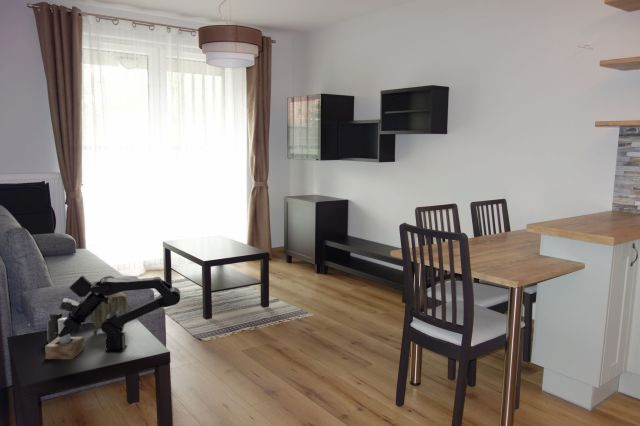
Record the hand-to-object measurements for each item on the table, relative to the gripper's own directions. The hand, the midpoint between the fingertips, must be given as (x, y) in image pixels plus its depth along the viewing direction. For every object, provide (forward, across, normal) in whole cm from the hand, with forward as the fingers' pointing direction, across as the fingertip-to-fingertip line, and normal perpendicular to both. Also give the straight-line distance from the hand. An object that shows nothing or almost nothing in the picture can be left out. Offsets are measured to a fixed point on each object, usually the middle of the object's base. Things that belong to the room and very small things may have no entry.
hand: (60, 334), depth 199 cm
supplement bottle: (+9, -15, +2) cm, 18 cm away
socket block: (+5, 0, +7) cm, 8 cm away
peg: (+4, 0, +6) cm, 7 cm away
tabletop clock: (-5, -20, +17) cm, 26 cm away
